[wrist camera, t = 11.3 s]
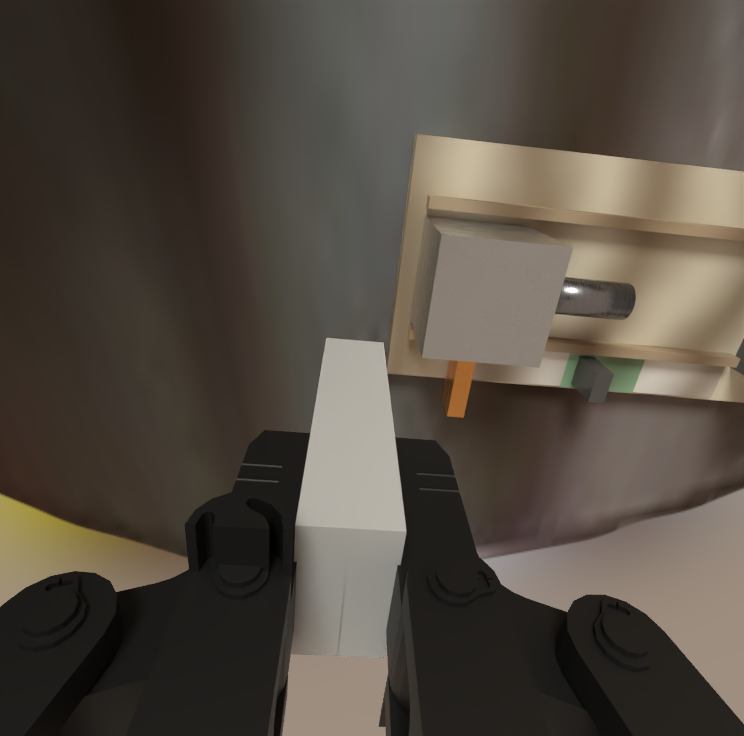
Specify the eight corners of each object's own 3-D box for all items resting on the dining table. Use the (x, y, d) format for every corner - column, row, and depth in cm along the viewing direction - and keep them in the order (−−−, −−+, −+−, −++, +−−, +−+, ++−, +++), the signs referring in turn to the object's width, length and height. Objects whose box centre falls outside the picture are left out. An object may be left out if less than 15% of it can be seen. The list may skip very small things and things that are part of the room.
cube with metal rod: (400, 385, 30) (409, 437, 25) (424, 215, 26) (441, 234, 20) (563, 398, 31) (605, 451, 26) (614, 235, 27) (679, 258, 21)
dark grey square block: (571, 383, 31) (587, 402, 28) (579, 355, 30) (597, 373, 27) (585, 384, 31) (603, 403, 28) (594, 357, 30) (614, 374, 28)
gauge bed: (385, 365, 31) (392, 422, 25) (414, 134, 25) (433, 130, 19) (749, 395, 33) (844, 456, 26) (856, 185, 27) (1013, 197, 21)
